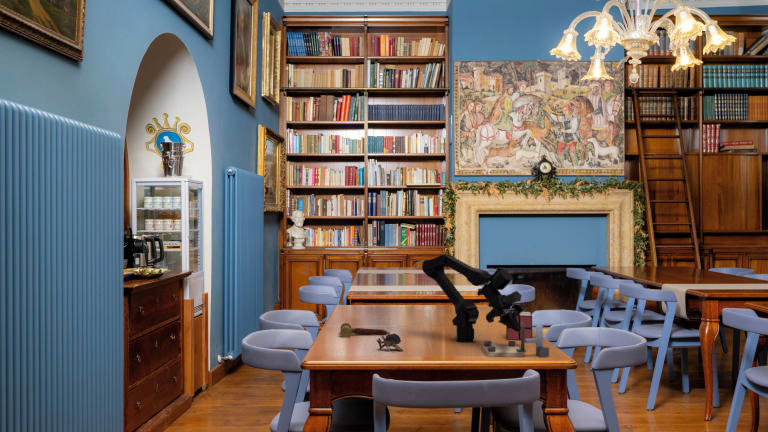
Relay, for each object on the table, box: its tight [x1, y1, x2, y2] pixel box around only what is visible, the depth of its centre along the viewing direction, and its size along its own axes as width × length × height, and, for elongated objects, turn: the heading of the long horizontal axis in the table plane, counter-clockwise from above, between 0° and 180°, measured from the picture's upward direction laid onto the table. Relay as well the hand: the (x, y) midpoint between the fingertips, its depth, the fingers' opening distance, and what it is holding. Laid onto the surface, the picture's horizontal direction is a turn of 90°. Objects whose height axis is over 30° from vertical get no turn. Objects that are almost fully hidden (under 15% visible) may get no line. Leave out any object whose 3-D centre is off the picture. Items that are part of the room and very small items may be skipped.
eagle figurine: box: [376, 333, 404, 353], centre depth 202 cm, size 8×7×9 cm
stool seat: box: [480, 321, 526, 358], centre depth 199 cm, size 14×13×12 cm
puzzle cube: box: [505, 311, 533, 341], centre depth 225 cm, size 10×10×10 cm
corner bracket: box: [536, 346, 550, 358], centre depth 193 cm, size 2×4×3 cm, turn 104°
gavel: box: [339, 322, 391, 339], centre depth 231 cm, size 21×5×10 cm
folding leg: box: [525, 324, 544, 355], centre depth 195 cm, size 7×2×10 cm, turn 104°
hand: (519, 331), depth 202 cm, fingers closed
